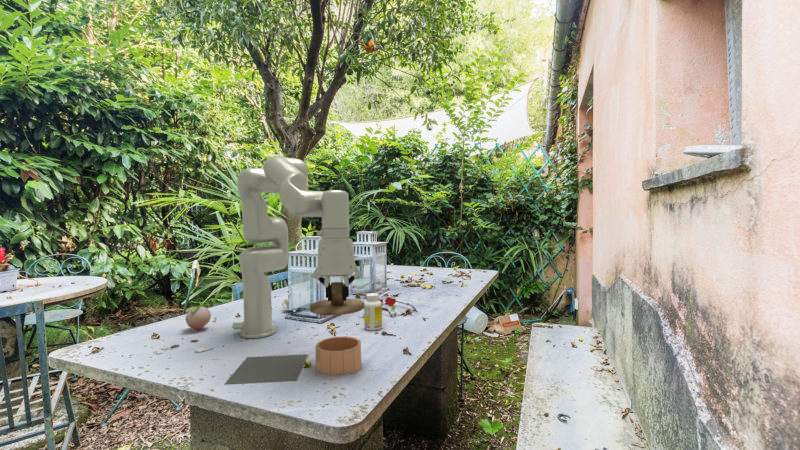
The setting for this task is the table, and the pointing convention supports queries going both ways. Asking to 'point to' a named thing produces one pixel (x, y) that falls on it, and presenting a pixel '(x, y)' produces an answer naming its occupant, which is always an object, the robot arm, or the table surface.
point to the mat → (268, 369)
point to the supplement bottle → (372, 312)
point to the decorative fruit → (198, 317)
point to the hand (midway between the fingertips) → (337, 299)
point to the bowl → (338, 355)
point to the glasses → (392, 303)
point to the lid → (337, 303)
